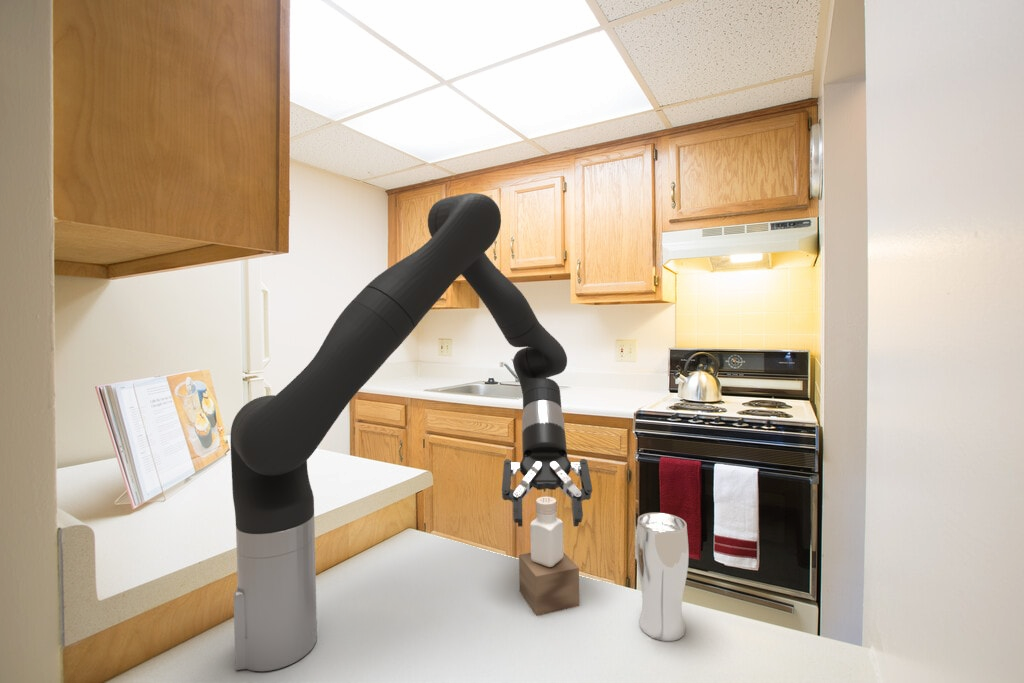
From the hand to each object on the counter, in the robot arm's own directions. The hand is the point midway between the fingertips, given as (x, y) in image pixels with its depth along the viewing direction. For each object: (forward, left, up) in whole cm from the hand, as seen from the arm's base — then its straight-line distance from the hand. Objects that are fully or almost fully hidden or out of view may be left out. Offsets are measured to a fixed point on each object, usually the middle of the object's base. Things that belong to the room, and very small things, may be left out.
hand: (548, 524), depth 72 cm
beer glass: (+12, -11, -12) cm, 21 cm away
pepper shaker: (0, +2, -6) cm, 7 cm away
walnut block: (0, +1, -12) cm, 12 cm away
